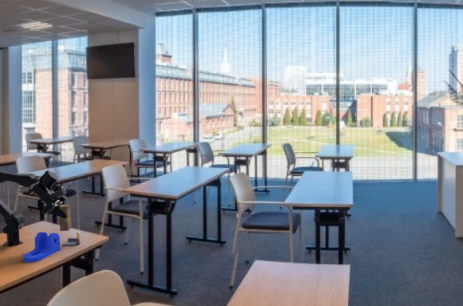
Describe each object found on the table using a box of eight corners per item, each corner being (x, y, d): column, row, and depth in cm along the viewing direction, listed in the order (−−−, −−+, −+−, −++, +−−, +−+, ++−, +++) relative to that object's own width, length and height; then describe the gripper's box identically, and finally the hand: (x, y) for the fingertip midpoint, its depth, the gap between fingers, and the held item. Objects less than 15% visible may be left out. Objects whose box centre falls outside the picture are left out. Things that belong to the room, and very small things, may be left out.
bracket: (44, 248, 215) (43, 230, 214) (60, 250, 213) (59, 231, 212) (18, 261, 197) (17, 241, 196) (35, 263, 195) (34, 243, 194)
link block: (60, 230, 219) (58, 206, 217) (63, 228, 223) (61, 204, 221) (68, 230, 219) (67, 206, 217) (71, 228, 223) (70, 204, 221)
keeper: (62, 245, 218) (62, 233, 218) (67, 241, 224) (66, 230, 224) (78, 245, 218) (77, 233, 218) (82, 241, 224) (81, 230, 224)
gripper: (47, 186, 209) (72, 209, 210) (62, 179, 227) (85, 200, 228) (31, 202, 210) (56, 226, 211) (47, 194, 228) (70, 216, 229)
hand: (67, 216), depth 220 cm, fingers closed on link block, 4 cm apart
